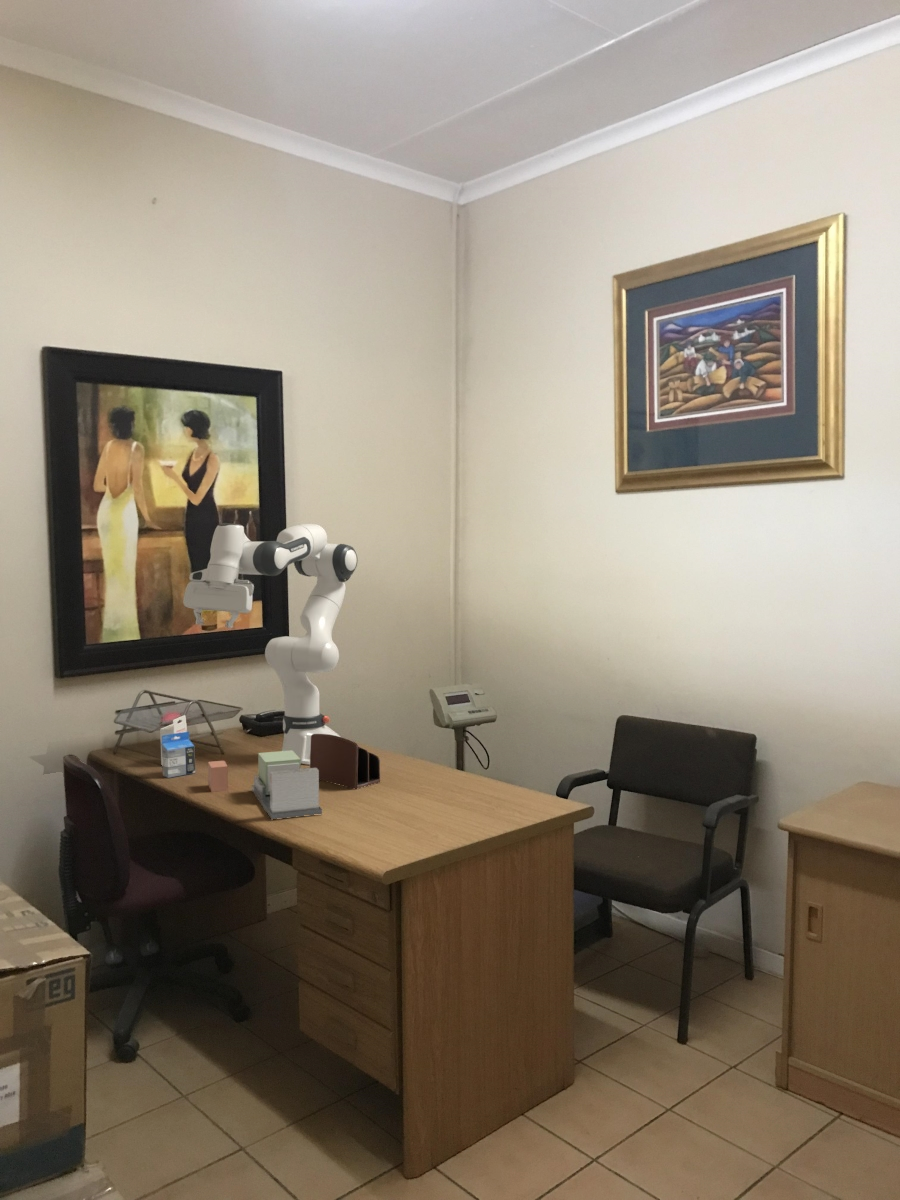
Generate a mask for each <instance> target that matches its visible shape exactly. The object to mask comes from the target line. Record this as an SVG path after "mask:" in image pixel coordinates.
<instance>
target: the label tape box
mask: <svg viewBox="0 0 900 1200" xmlns="http://www.w3.org/2000/svg"><path fill="white" fill-rule="evenodd" d="M175 736H177V737H180V738H179V739H173V740H171V738H174V737H175ZM195 749H196V748H195V745H194V744H193V742H192V741H191V740H190V731H188V730H187V732H182V733H175V734H169V735H162V766H161V767H162V776H163V777H165V778H168V779H169V778H170V779H171V778H174V777H175V778H176V777H179V776H186V775H192V774H195V773H196V755H195V752H196V751H195Z"/></svg>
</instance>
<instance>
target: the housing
mask: <svg viewBox="0 0 900 1200" xmlns="http://www.w3.org/2000/svg"><path fill="white" fill-rule="evenodd" d="M207 766H208V767H207V770H208V771H207V772H208V773H207V774H208V775H207V776H208V780H207V781H208V788H209V790H210V792H211V793H216V792H215V791H219V792H226V791H227V790H228V791H229V773H228V772H229V768H228V765H227V762H226V761H225V760H217V761H216V760H215V761H208V763H207ZM228 791H227V792H228Z"/></svg>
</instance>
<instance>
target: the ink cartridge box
mask: <svg viewBox="0 0 900 1200" xmlns="http://www.w3.org/2000/svg"><path fill="white" fill-rule="evenodd" d="M180 721H181V722H180ZM187 726H188V725H187V716H186V714H183V715H181V716H178V717H176V718H175V719H172V723H171V724H169V725H167V726H164V727H162V728H160V729H159V731H160V732H159V736H160V764H161V765H162V735H169V734H175V733H182V732H188V729H187V728H188V727H187ZM179 738H180V737H177V736H175V737H174V738H171V740H173V739H179Z"/></svg>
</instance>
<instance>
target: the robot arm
mask: <svg viewBox="0 0 900 1200" xmlns="http://www.w3.org/2000/svg"><path fill="white" fill-rule="evenodd" d="M210 544H211V545H210V549H209V550H210V559H209V561H208V564H207V568H204V569H201V570H198V571H194V572H190V574H189V577H188V578H189V580H190V581H189V582H188V583H187V585H186V587H185V590H184V596H183V600H182V603H183V605H184V607H186V608H189V609H193V613H194V617H195V625H196V626H203V625H204V621H205V620H204V619H203V618H202V617H201V616H202V615H201V614H202V612H203V610H205V611H215V612H216V611H217V612H228V613H229V612H230V618H229V619H228V620H225V628H228V629H233V627H234V622H236V621H237V619H239V614H240V613H241V614H250V612H251V611H252V610H253V594H254V589H255V586H254V585H255V584H254V583H253V582H252V581H251V580H249V579H240V578H239V575H257V576H259V575H260V576H262V575H263V576H270V577H275V576H279V575H280V574H282V572H283V571H284V570H285V569H286V568H287V567H288V566H290V565H291V564H293V566H294V568H295V570H296V571H297V573H298V574H300V575H302V576H304V577H309V578H310V577H316V579H317V580H316V583H315V585H314V587H313V589H312V590H311V592H310V594H309V596H308V598H307V601H306V602H305V605H304V607H303V610H302V611H301V614H300V617H299V619H300V620H299V621H300V624H301V627H303V629H304V630H306V634H305V635H304V636H302V637H301V636H287V635H285V636H278V637H274V638H271V639H270V640H269V641H268V643H267V644H266V646H265V651H264V657H265V660H266V662H267V664H268V665H269V666H270V667H271V668H272V669H273V670H274V672H275V673H276V675H277V676H278V678H279V681H280V684H281V686H282V689H283V690H282V691H283V700H284V701H283V702H284V714H283V716H282V717H283V718H282V731H283V743H282V749H281V751H290V750H292V751H293V752H294V753H295V754H296V755H297V756H298V757H299V758H300V759H301V765H310V749H311V735H313V734H329V735H334V736H338V737H341V736H340V734H339V733H337V732H336V731H334V730H333V729H332V728H330V727H329V726H328V725H326V724H329V723H330V717H329V716H328V715H327V716H326V715H324V714H322V713H320V691H319V689H318V687H317V685H316V684H314V683H313V682H311V681H310V679H309V677H308V675H307V673H312V674H321V673H327V672H331V671H333V670H334V669H335V668H336V667H337V666H338V662H339V660H340V651H339V648H338V647H337V645H336V643H335V642H334V641H333V636H332V634H333V629H334V625H335V622H336V620H337V618H338V616H339V613H340V610H341V609H342V606H343V602H344V600H345V599H344V598H345V596H346V584H345V582H348V580H350V579H351V576H352V575H353V574H354V573H355V570H356V569H357V567H358V555H357V553H356V550H355V548H354V547H353V546H351V545H348V544H345V543H340V544H339V543H329V542H328V534H327V531H326V529H324V528H323V526H321V525H319V524H316V523H301V524H300V523H299V524H296V525H292V526H289V527H286V528H285V529H283V530H281V531H280V532H279V533H278V535H277V538H276V540H268V541H252V540H250V539H249V538H248V536H247V535H246V534H245V526H243V525H242V524H239V523H229V522H228V523H226V522H224V523H220V524H218V525H217V526H216V528H215V530H214V532H213V535H212V540H211V543H210Z"/></svg>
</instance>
